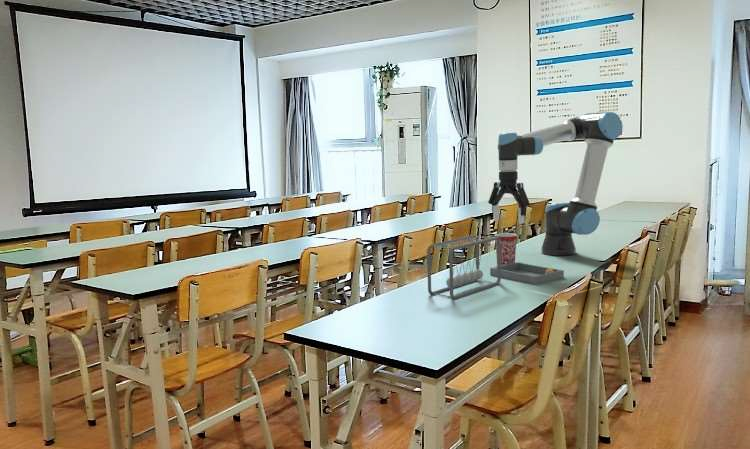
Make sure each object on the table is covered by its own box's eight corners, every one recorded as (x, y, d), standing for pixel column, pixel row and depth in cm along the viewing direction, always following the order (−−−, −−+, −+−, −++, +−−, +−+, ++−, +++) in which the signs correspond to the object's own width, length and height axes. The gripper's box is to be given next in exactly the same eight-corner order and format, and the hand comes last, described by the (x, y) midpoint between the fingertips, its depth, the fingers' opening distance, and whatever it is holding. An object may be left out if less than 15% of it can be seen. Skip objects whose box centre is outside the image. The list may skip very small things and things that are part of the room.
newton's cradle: (452, 300, 197) (451, 248, 194) (427, 296, 204) (426, 245, 202) (501, 283, 218) (501, 236, 216) (477, 280, 225) (476, 233, 223)
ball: (549, 275, 225) (549, 267, 225) (555, 277, 223) (556, 268, 222) (543, 277, 224) (543, 268, 223) (550, 278, 221) (550, 269, 221)
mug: (510, 269, 242) (510, 236, 240) (490, 267, 248) (490, 235, 246) (525, 264, 251) (525, 232, 249) (506, 262, 257) (506, 231, 255)
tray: (518, 270, 240) (518, 262, 239) (563, 279, 222) (563, 270, 221) (490, 276, 231) (490, 267, 230) (535, 285, 213) (535, 276, 212)
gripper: (479, 171, 251) (480, 220, 254) (526, 171, 231) (526, 225, 234) (491, 169, 256) (492, 218, 259) (538, 170, 236) (538, 223, 238)
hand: (508, 222), depth 246 cm, fingers open, 13 cm apart
